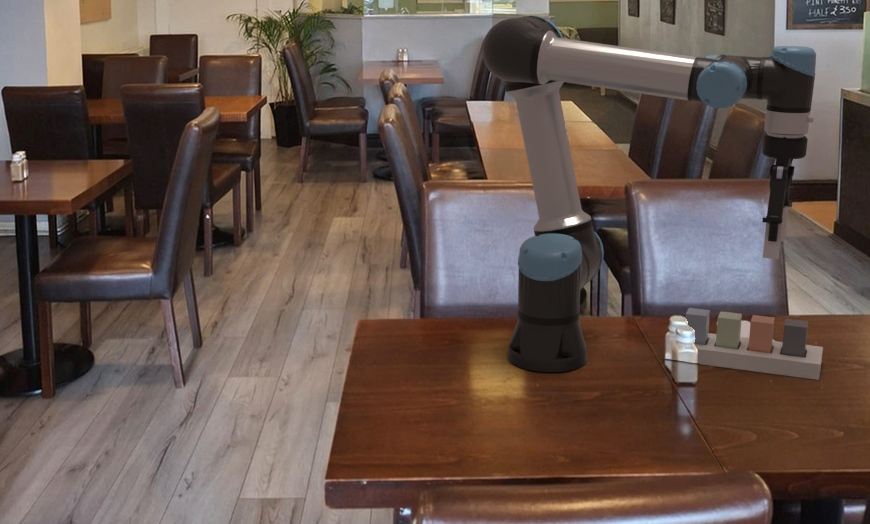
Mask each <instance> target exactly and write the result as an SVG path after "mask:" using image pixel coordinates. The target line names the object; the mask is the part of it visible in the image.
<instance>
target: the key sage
mask: <svg viewBox="0 0 870 524" xmlns="http://www.w3.org/2000/svg"><path fill="white" fill-rule="evenodd" d="M742 318H743V313H739V312H738V313H737V312H731V311H730V312H729V311H720V312H719V314H718V316H717V322H716V323H717V325H716V334H717V335H716V347H724V348H732V349H738V347H739V344H740V333H741V321H743V320H742Z"/></svg>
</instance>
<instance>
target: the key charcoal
mask: <svg viewBox="0 0 870 524" xmlns="http://www.w3.org/2000/svg"><path fill="white" fill-rule="evenodd" d="M808 327H809V320H803V319H802V320H801V319H792V318H785V321H784V325H783V333H782V335H783V336H782V342H783V344H782V355H789V356H797V357H804V356H805V350H806V345H807V340H808V338H807V337H808Z"/></svg>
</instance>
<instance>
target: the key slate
mask: <svg viewBox="0 0 870 524" xmlns="http://www.w3.org/2000/svg"><path fill="white" fill-rule="evenodd" d="M710 314H711V310H710V309H702V308H695V307H694V308H693V307H688V309H687V310H686V312H685V318H686V319H687V321H688V325H689V326H690V327H692V328H693V329H694V330H695V338H696V339H695V344H700V345H706V343H707V340H708V333H709V330H710Z"/></svg>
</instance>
